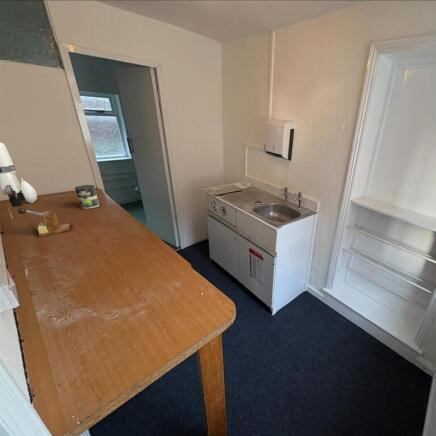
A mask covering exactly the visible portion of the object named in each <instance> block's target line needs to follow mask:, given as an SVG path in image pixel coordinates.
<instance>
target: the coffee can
mask: <svg viewBox="0 0 436 436" xmlns="http://www.w3.org/2000/svg"><path fill="white" fill-rule="evenodd" d="M74 190H75V193H76V196H77V199H78V202H79V205H80V208H81V209H83V210H84V209H85V210H86V209H94V208H97V207H100V201H99V199H98V198H99V197H98V195H97V191H96V188H95V185H93V184H83V185H78V186H75V187H74Z"/></svg>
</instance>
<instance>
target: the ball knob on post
mask: <svg viewBox="0 0 436 436" xmlns="http://www.w3.org/2000/svg"><path fill="white" fill-rule="evenodd" d="M16 212H17V213H18V214H20V215H24V214H31V215H36V216H42V214H45V213H43V212H39V211H33V210H27V209H26V208H25V207H18V208H17V209H16ZM47 213H48V212H47ZM47 213H46V214H47Z"/></svg>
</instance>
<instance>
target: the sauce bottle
mask: <svg viewBox="0 0 436 436" xmlns="http://www.w3.org/2000/svg"><path fill="white" fill-rule="evenodd" d="M20 178H21V181H20V182H19V183H20V186H21V191H22V193H23V195H24V197H25V199H26V200H25V201H24V202H25V203H29V204H32V203H33V204H34V203H35V202H36V201H37V199H38V195H37V194H38V193H37V192H36V190H35V188H34V187H33V186H32V185H31V184H30V183H29V182H27V181H26V180H24V179H23V178H22V177H20Z"/></svg>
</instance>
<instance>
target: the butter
mask: <svg viewBox="0 0 436 436" xmlns="http://www.w3.org/2000/svg"><path fill="white" fill-rule="evenodd" d="M37 231H38V234H39V233H40V234H42V233H47V232H48V228H47V226H46V225H44V226H39V225H38V226H37Z"/></svg>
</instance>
